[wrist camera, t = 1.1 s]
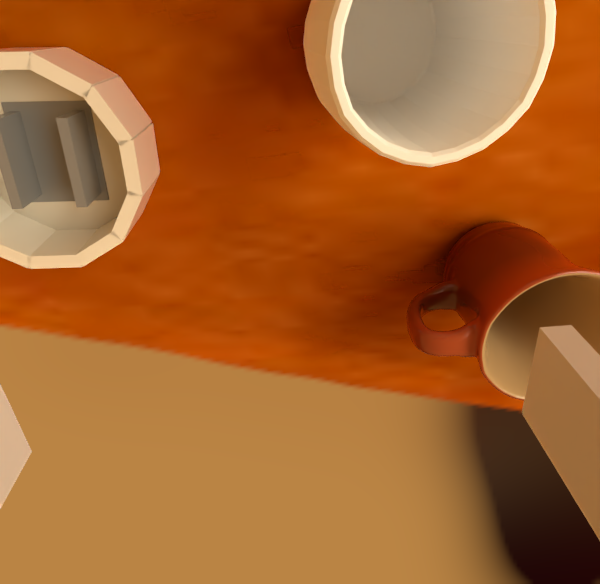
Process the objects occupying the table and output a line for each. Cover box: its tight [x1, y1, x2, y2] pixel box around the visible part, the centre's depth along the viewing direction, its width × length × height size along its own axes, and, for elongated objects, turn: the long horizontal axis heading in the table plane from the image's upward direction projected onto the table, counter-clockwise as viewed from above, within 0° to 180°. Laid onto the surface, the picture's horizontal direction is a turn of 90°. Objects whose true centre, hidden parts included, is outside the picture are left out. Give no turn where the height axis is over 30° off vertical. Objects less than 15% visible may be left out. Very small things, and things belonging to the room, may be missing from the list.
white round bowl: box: [0, 47, 160, 269], centre depth 29 cm, size 12×12×5 cm
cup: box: [303, 0, 556, 167], centre depth 23 cm, size 8×8×14 cm
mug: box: [407, 222, 600, 400], centre depth 32 cm, size 12×9×10 cm
